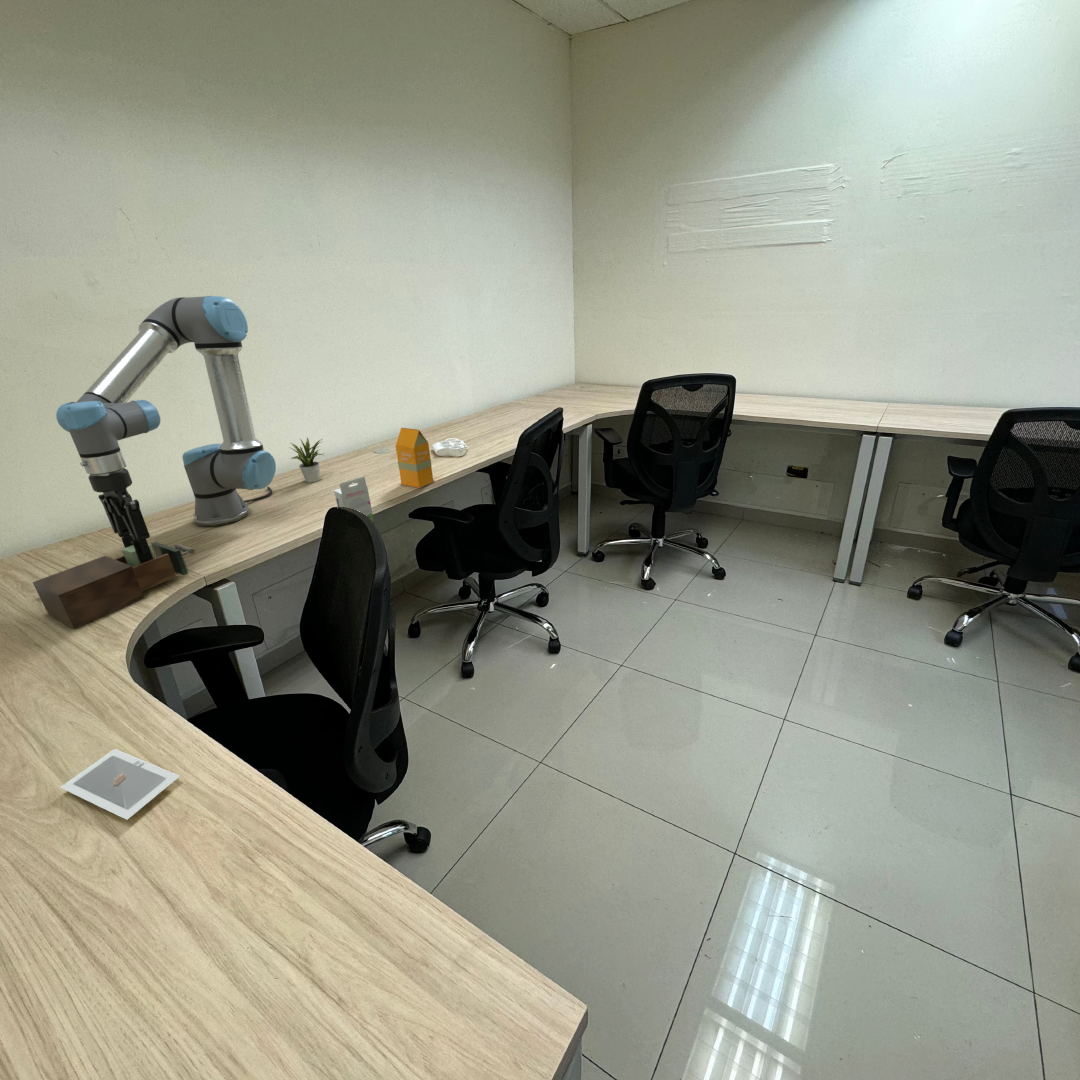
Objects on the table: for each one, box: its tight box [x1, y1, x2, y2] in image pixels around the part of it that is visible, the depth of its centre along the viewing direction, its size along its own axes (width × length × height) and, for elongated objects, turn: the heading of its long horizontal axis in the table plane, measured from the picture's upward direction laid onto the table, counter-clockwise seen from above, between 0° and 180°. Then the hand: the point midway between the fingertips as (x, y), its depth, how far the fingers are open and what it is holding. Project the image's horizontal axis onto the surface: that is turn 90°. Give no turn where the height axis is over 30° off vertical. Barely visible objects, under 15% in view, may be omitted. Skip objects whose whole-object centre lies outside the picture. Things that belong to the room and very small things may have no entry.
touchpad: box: [59, 748, 181, 821], centre depth 81 cm, size 8×15×2 cm, turn 67°
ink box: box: [333, 476, 375, 523], centre depth 165 cm, size 9×5×15 cm, turn 134°
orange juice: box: [395, 427, 434, 489], centre depth 197 cm, size 8×9×20 cm
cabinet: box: [32, 555, 145, 630], centre depth 127 cm, size 15×13×9 cm
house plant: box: [288, 437, 326, 484], centre depth 204 cm, size 14×14×16 cm
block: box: [121, 544, 156, 567], centre depth 135 cm, size 4×4×4 cm
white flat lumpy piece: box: [431, 437, 470, 458], centre depth 236 cm, size 3×18×15 cm
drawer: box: [114, 541, 196, 592], centre depth 138 cm, size 18×11×7 cm, turn 150°
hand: (142, 561), depth 136 cm, fingers closed on block, 4 cm apart
